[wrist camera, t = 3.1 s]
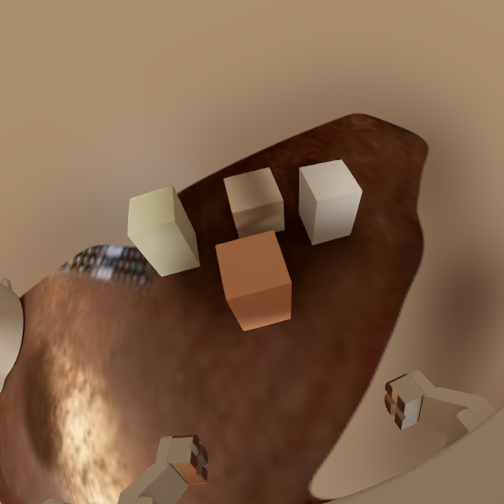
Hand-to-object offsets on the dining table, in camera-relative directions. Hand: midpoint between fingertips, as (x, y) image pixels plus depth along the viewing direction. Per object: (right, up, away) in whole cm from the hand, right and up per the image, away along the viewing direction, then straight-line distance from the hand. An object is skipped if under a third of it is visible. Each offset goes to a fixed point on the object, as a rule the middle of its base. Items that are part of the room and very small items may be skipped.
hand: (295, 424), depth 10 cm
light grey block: (+6, +10, +21) cm, 24 cm away
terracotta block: (-1, +2, +17) cm, 17 cm away
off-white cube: (-1, +11, +22) cm, 25 cm away
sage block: (-10, +7, +21) cm, 24 cm away
